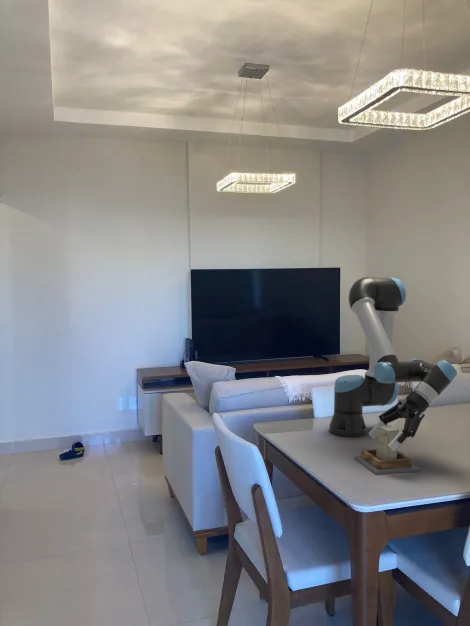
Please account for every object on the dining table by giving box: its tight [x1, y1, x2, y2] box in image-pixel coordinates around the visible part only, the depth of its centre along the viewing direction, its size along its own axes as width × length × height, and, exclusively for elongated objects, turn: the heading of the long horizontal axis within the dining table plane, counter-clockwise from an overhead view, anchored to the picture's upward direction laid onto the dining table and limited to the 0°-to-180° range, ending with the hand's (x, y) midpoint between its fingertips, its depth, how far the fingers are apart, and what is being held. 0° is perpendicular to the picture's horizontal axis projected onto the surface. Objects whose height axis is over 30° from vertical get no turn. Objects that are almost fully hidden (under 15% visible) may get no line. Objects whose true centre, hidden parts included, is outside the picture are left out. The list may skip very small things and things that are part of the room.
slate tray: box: [353, 454, 420, 475], centre depth 188 cm, size 16×16×1 cm
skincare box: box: [375, 424, 399, 460], centre depth 187 cm, size 6×4×12 cm
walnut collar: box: [360, 448, 413, 469], centre depth 188 cm, size 12×12×2 cm
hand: (380, 442), depth 187 cm, fingers open, 13 cm apart
